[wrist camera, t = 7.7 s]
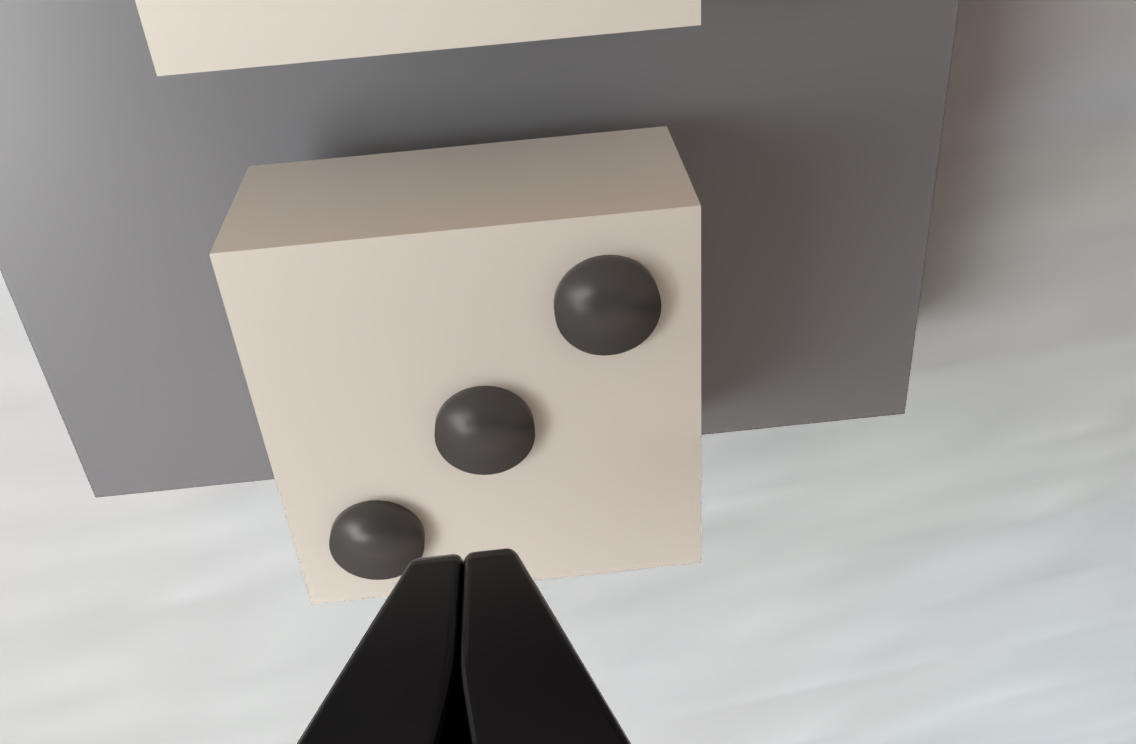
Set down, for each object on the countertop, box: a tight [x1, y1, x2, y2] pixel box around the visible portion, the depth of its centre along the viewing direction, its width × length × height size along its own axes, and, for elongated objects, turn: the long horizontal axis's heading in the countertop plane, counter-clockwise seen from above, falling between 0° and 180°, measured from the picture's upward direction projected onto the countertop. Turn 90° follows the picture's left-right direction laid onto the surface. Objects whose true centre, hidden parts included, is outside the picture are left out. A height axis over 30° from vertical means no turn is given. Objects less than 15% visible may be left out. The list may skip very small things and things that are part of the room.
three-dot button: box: [209, 126, 701, 604], centre depth 11 cm, size 4×4×2 cm
